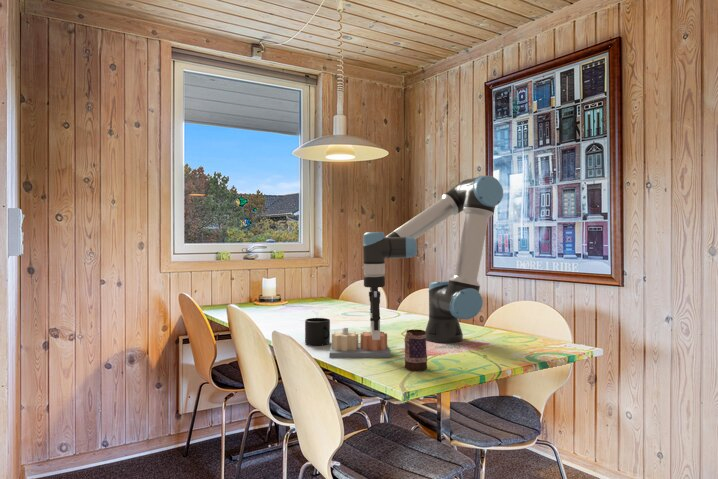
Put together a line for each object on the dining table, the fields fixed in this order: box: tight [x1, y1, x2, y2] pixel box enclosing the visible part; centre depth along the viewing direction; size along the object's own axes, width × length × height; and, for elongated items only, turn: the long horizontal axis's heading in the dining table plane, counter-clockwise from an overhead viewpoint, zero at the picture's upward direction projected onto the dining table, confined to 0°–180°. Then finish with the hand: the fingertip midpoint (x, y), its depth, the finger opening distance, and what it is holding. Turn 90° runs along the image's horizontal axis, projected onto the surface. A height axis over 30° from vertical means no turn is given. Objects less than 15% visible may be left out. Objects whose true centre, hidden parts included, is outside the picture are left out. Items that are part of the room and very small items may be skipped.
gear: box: [359, 331, 388, 351], centre depth 177 cm, size 9×9×5 cm
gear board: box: [328, 327, 391, 358], centre depth 177 cm, size 21×16×8 cm
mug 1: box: [304, 317, 331, 347], centre depth 191 cm, size 9×12×9 cm
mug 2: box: [404, 328, 428, 372], centre depth 154 cm, size 10×7×12 cm
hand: (375, 335), depth 178 cm, fingers open, 13 cm apart
